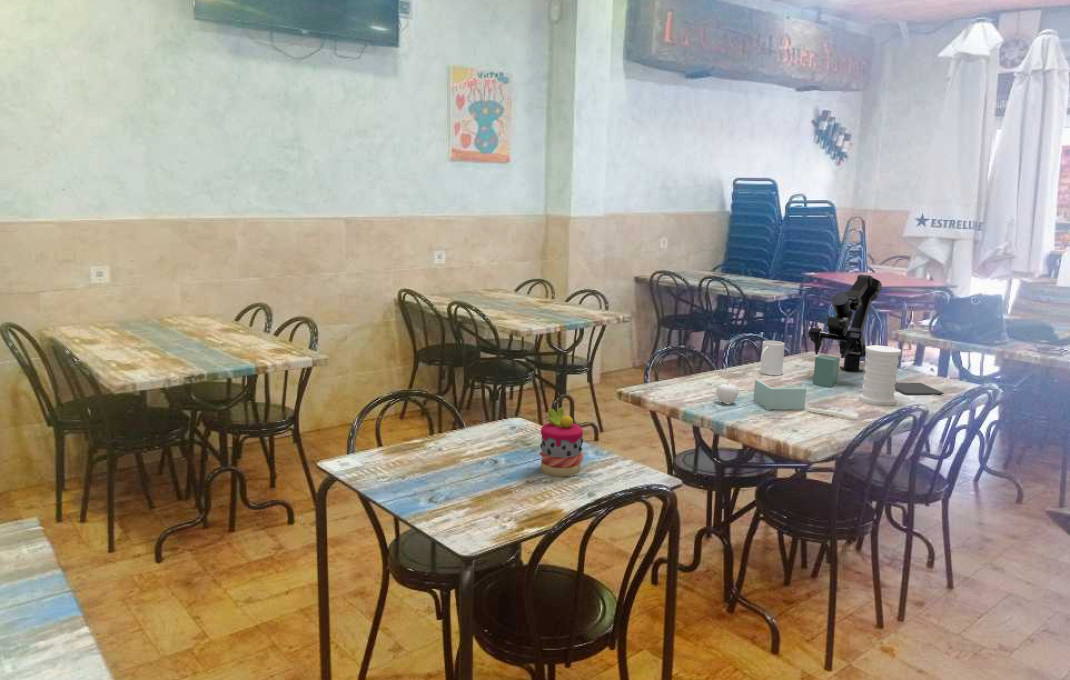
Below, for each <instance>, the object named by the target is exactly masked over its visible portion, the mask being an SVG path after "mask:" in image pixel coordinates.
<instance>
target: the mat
mask: <svg viewBox="0 0 1070 680" xmlns="http://www.w3.org/2000/svg"><path fill="white" fill-rule="evenodd" d="M895 392H898V393H900V394H903V395H904V396H932V395H931V394H944V392H943V391H941V390H938V389H936V388H933V387H931V386H929V385H927V384H925V383H923V382H896V384H895Z"/></svg>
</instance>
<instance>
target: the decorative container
mask: <svg viewBox="0 0 1070 680" xmlns="http://www.w3.org/2000/svg"><path fill="white" fill-rule="evenodd" d="M865 347H866V350H865V351H866V356H865V362H866V363H865V366H864V375H863V384H862V393H859V396H858V399H859V401H861V402H862V403H866V404H869V405H874V406H875V405H876V406H883V405H886V406H894V405H896V404H897V400H898V399H897V398H896V397H895V396H894V395H895V393H896V390H895V384H896V383H897V374H898V372H899V371H898V365H899V363H900V361H899V356H901V355H902V349H900V348H897V347H892V346H886V345H878V344H877V345H876V344H875V345H865Z"/></svg>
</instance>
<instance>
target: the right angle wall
mask: <svg viewBox="0 0 1070 680" xmlns="http://www.w3.org/2000/svg"><path fill="white" fill-rule="evenodd" d="M753 387H754V389H753V399H754V400H753V401H755V400H756V401H757V402H756V401H755V402H756V403H758V402H759V403H760V404H759V403H758V404H759V405H761V404H762V405H764V406H765V407H767V408H768V409H790V411H791V409H793V411H794V409H795V411H796V410H805V408H806V407H805V405H806V397H807V388H806V387H786V388H785V387H780V388H777V387H775V388H774V387H771V386H770V385H768V384H767V383H764V382H763V381H761V380H760V379H755V380H754V386H753ZM762 405H761V406H762ZM764 406H763V407H764ZM765 407H764V408H765ZM767 408H766V409H767ZM768 409H767V410H768Z"/></svg>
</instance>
